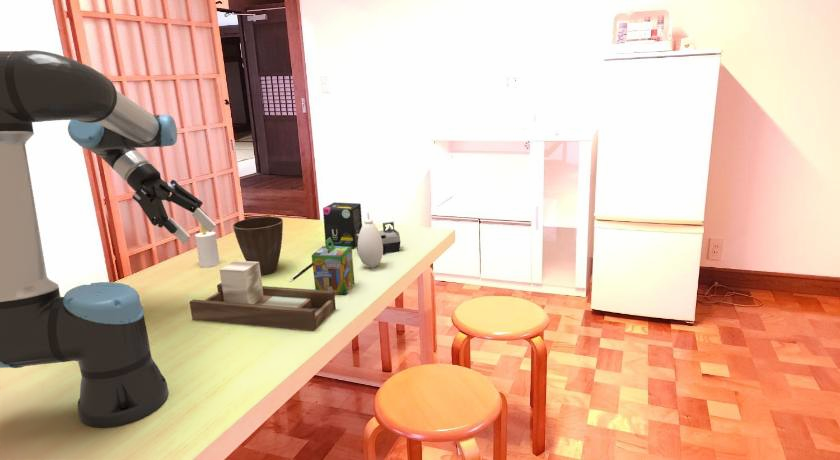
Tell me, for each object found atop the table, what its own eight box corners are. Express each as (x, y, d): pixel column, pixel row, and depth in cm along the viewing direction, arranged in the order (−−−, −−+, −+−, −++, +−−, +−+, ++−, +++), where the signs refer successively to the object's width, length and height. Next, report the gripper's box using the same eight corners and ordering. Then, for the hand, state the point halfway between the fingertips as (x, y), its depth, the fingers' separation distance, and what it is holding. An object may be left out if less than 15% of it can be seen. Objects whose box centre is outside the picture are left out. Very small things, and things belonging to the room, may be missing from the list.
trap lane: (313, 330, 132) (311, 311, 130) (192, 319, 141) (189, 301, 139) (335, 308, 144) (334, 291, 142) (222, 299, 153) (220, 283, 151)
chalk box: (345, 295, 153) (341, 244, 149) (314, 294, 154) (309, 243, 150) (355, 283, 161) (352, 234, 157) (326, 282, 163) (321, 234, 159)
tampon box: (325, 248, 196) (321, 207, 192) (336, 240, 204) (333, 202, 200) (353, 249, 193) (350, 208, 189) (363, 241, 201) (361, 202, 197)
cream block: (249, 308, 139) (244, 271, 136) (224, 306, 141) (219, 269, 138) (263, 297, 145) (259, 261, 143) (240, 296, 147) (235, 260, 144)
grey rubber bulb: (387, 268, 172) (383, 212, 167) (363, 272, 170) (359, 216, 165) (379, 261, 179) (376, 207, 174) (356, 265, 177) (352, 210, 172)
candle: (224, 261, 186) (217, 218, 182) (212, 268, 180) (205, 223, 176) (208, 260, 187) (201, 217, 183) (195, 267, 181) (188, 223, 177)
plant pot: (230, 278, 170) (222, 228, 165) (255, 262, 184) (249, 215, 179) (274, 280, 166) (268, 229, 162) (296, 264, 180) (291, 216, 176)
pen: (288, 282, 165) (288, 279, 164) (316, 262, 182) (315, 258, 182) (291, 283, 164) (291, 279, 164) (318, 262, 182) (318, 258, 182)
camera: (360, 258, 183) (358, 229, 180) (355, 252, 190) (353, 224, 187) (403, 253, 187) (402, 224, 184) (398, 246, 194) (396, 219, 191)
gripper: (161, 174, 153) (219, 231, 153) (96, 191, 132) (162, 257, 132) (175, 155, 150) (233, 213, 150) (110, 169, 129) (178, 237, 129)
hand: (200, 234), depth 141 cm, fingers open, 10 cm apart
